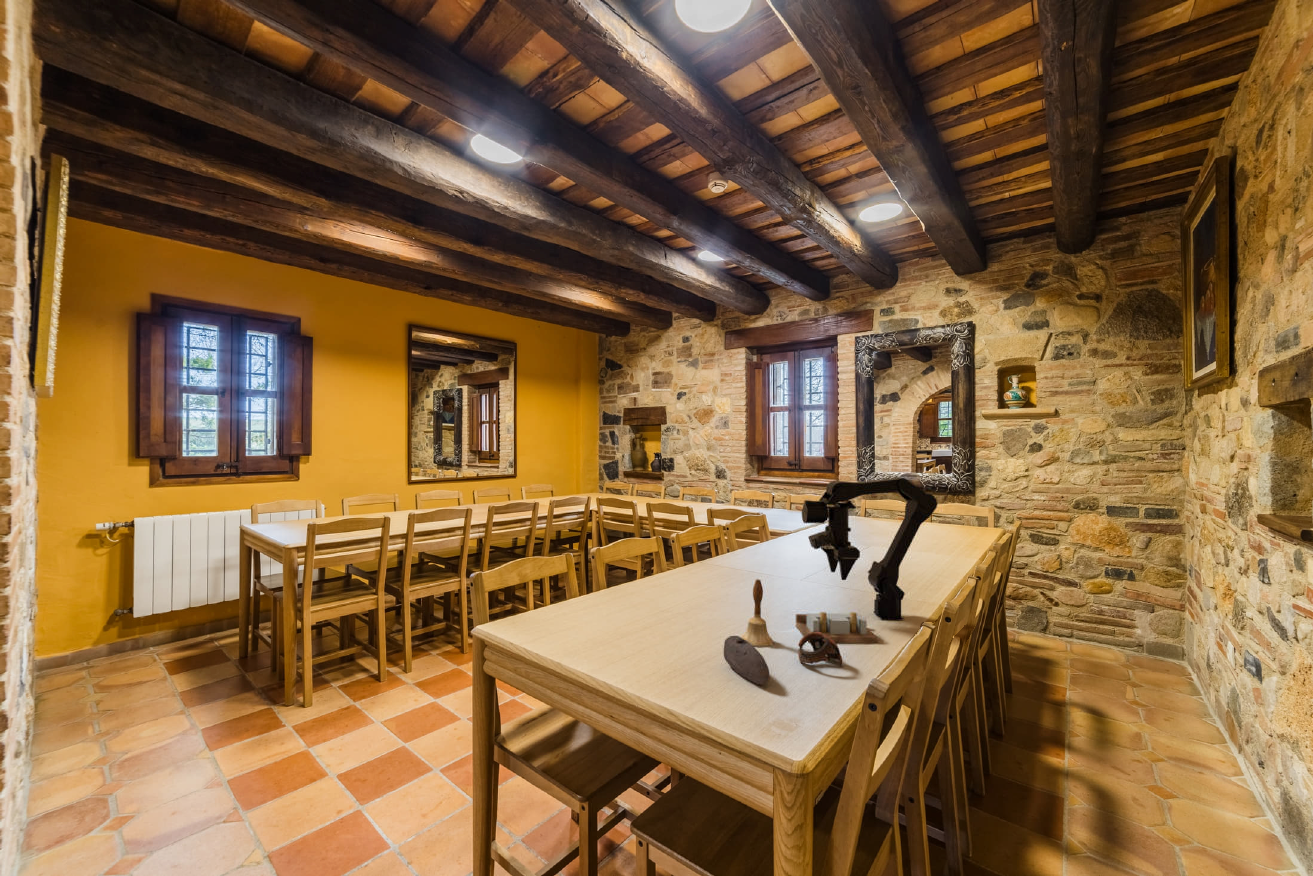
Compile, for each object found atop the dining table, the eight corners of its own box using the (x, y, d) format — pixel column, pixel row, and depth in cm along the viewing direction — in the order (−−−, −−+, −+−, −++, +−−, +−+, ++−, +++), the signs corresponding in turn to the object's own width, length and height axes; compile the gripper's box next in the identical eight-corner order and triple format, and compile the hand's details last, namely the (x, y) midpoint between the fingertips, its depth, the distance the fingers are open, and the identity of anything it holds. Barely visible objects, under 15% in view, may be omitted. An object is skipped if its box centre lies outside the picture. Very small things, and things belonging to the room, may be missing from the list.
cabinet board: (859, 626, 150) (859, 603, 150) (877, 642, 138) (877, 617, 138) (795, 626, 150) (795, 603, 150) (808, 642, 138) (808, 617, 138)
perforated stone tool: (777, 689, 112) (777, 656, 112) (756, 693, 110) (756, 659, 110) (741, 662, 126) (741, 632, 126) (721, 665, 124) (721, 635, 124)
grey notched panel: (857, 626, 146) (857, 613, 146) (866, 634, 140) (866, 620, 140) (806, 626, 146) (806, 613, 146) (813, 634, 140) (813, 620, 140)
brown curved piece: (851, 675, 120) (837, 646, 118) (812, 690, 121) (797, 662, 120) (835, 642, 132) (822, 615, 130) (800, 656, 133) (786, 630, 131)
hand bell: (776, 638, 141) (776, 577, 141) (769, 649, 133) (769, 585, 133) (745, 633, 144) (745, 574, 144) (736, 644, 137) (737, 581, 137)
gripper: (802, 518, 169) (802, 568, 168) (821, 528, 150) (820, 584, 150) (837, 519, 169) (837, 568, 168) (860, 528, 150) (860, 584, 150)
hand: (838, 576), depth 159 cm, fingers open, 9 cm apart
